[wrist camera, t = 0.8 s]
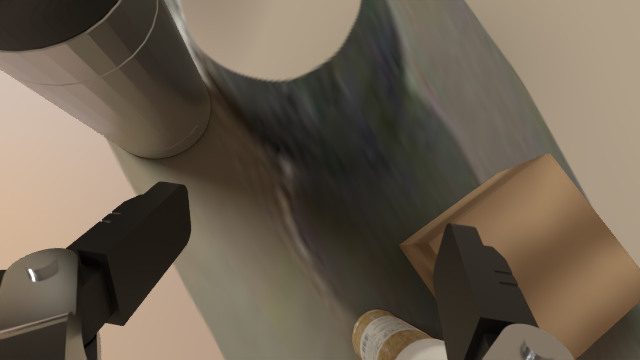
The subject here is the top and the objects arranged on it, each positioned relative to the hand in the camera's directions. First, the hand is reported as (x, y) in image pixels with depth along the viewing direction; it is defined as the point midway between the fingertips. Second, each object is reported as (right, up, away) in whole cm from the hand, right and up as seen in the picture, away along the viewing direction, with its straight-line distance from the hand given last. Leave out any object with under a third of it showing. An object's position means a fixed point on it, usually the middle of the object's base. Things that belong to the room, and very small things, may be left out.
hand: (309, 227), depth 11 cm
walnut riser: (+16, -6, +22) cm, 27 cm away
